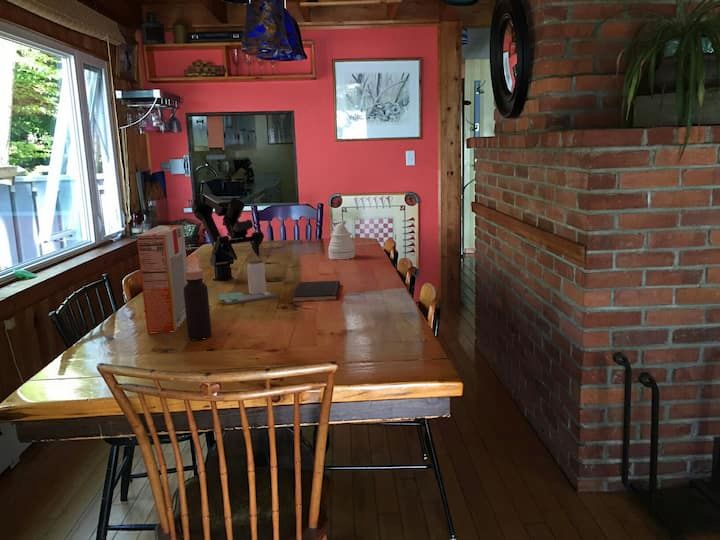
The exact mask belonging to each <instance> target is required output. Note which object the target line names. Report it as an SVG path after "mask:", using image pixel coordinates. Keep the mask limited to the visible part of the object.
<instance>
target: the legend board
mask: <svg viewBox="0 0 720 540" xmlns="http://www.w3.org/2000/svg"><path fill="white" fill-rule="evenodd" d="M273 298H277V295H276V293H274V292H273V291H267V290H266V292H262V293H259V294H246V295H244V296H239V297H234V296H231V297H229V298H225V299H224V301H225V302H224V301H223V302H224V303H225V304H227V305H232V304H234V305H235V304H240V303H246V302H252V301H260V300H265V299H266V300H267V299H273Z"/></svg>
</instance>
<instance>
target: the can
mask: <svg viewBox="0 0 720 540" xmlns="http://www.w3.org/2000/svg"><path fill="white" fill-rule="evenodd" d="M246 269H247V270H246V271H247V282H248V284H247V285H248V293H249V295H252V294H259V293H262V292H266V291H267V283H266V269H265V264H264V261H263V260H251V261H248V262H247V266H246Z"/></svg>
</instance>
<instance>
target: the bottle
mask: <svg viewBox="0 0 720 540" xmlns="http://www.w3.org/2000/svg"><path fill="white" fill-rule="evenodd" d="M185 277H186V281H187V285H186V286H185V287H184V289H183V291H184V301H185V310H186V319H185V321H186V327H187V330H186V331H187V338H188V339H189V338H190V339H189V340H191V339H203V338H207V337H209V338H211V337H212V336H211V335H212V334H213V333H212V324H211V314H210V301H209V292H208V285H207V284H205V283H204V281H203V279H204V272H203V269H202V268H201V269H200V268H195V269H194V268H192V269H188V270H187V271H185ZM210 336H211V337H210ZM207 339H208V338H207ZM203 340H204V339H203Z"/></svg>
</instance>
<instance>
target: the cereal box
mask: <svg viewBox="0 0 720 540" xmlns="http://www.w3.org/2000/svg"><path fill="white" fill-rule="evenodd" d="M136 245H137V254H138V261H139V270H140V279H141V286H142V287H141V289H142V296H143V305H144V313H145V322H146V323H145V324H146V331H147V332H146V333H147V334H148V333H150V332H170V331H175V330H176V329H177V327H178V326H179V325H180V324H181V323H182V321H183V320H184V319H185V318H186V310H185V301H184V291H183V289H184V287H185V286H186V285H187V281H186V277H185V271H187V270H189V269H188V260H187V251H186V248H187V247H186V241H185V229H184V224H172V225H171V224H169V225H166V224H165V225H158V226H155V227H152V228H151V229H149V230H146V231H144V232H142V233H140V234H138V235H136ZM185 320H186V319H185ZM185 320H184V321H185ZM182 324H183V323H182ZM182 324H181V325H182ZM181 325H180V326H181ZM180 326H179V327H180ZM177 330H178V329H177ZM177 330H176V331H177ZM176 331H175V332H176Z"/></svg>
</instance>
